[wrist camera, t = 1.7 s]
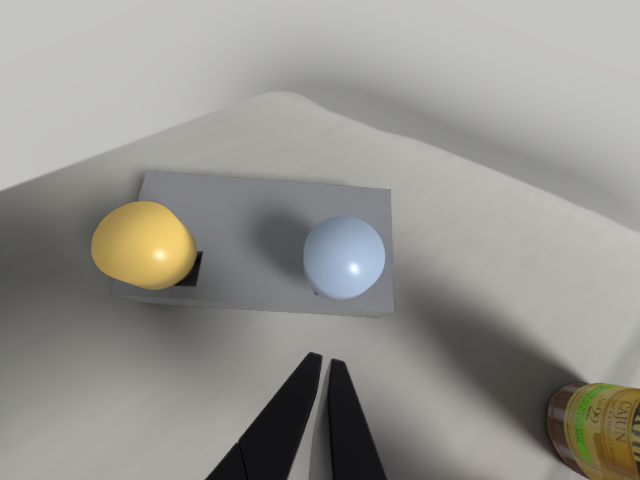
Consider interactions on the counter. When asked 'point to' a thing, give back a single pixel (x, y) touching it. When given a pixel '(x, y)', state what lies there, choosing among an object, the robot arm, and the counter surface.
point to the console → (262, 242)
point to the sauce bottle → (597, 430)
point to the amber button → (144, 246)
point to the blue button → (342, 258)
